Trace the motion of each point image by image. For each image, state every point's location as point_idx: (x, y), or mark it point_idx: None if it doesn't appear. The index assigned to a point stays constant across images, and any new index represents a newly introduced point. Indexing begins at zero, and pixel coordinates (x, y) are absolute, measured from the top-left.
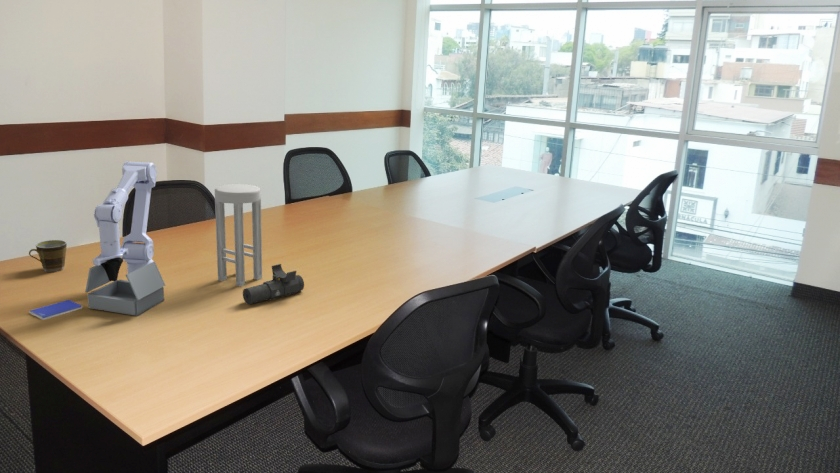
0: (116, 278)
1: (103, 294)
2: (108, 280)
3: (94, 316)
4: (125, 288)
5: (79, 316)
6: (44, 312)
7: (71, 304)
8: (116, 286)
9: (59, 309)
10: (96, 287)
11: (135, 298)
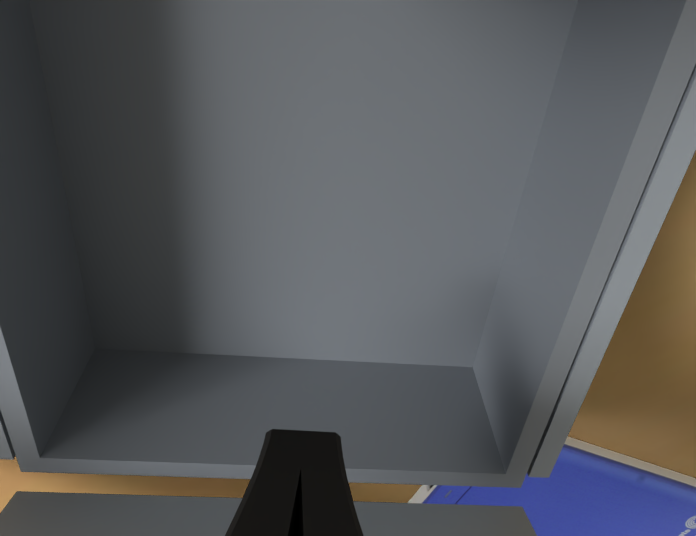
0: (290, 455)
1: (308, 402)
2: (162, 516)
3: (673, 233)
4: (56, 314)
5: (668, 338)
6: (652, 534)
7: (482, 488)
8: (89, 407)
9: (590, 498)
10: (374, 507)
11: (145, 99)
